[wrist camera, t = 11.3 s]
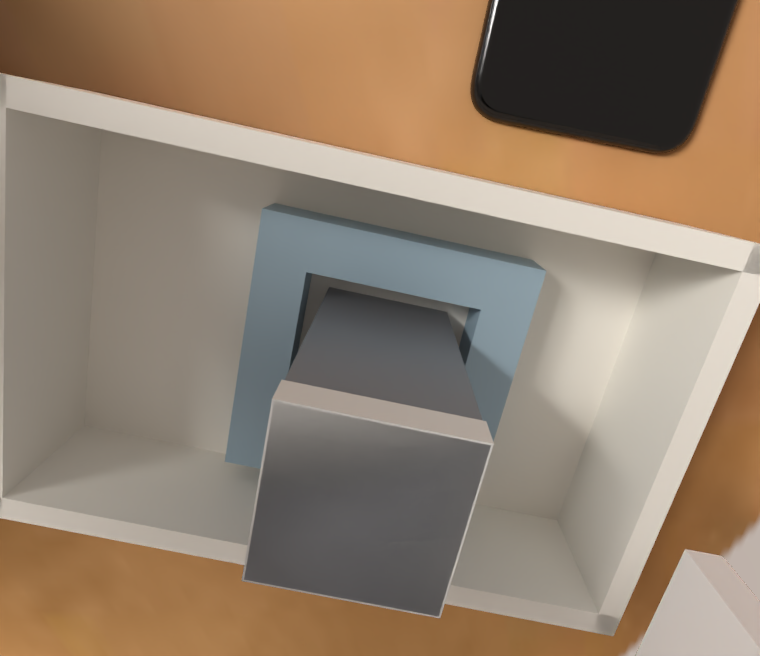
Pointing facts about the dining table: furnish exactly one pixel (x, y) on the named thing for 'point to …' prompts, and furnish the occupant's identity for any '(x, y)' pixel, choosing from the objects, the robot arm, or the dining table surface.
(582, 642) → the dining table surface
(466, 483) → the grey plug
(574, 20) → the smartphone
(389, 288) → the tray box
